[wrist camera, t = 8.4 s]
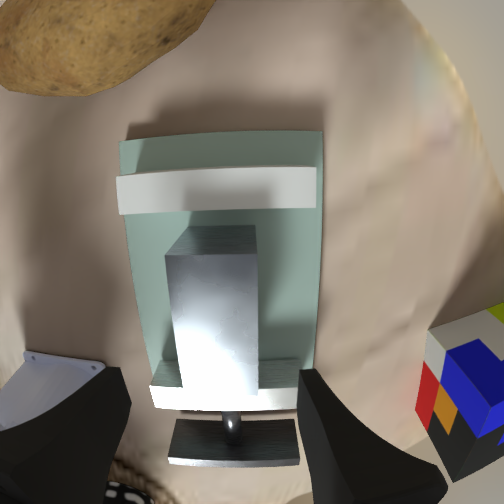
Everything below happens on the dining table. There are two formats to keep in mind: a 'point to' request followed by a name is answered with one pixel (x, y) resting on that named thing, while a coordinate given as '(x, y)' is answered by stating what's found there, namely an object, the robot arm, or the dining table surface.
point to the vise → (228, 213)
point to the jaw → (232, 420)
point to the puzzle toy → (465, 391)
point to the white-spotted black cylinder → (124, 495)
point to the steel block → (215, 308)
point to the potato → (88, 41)
